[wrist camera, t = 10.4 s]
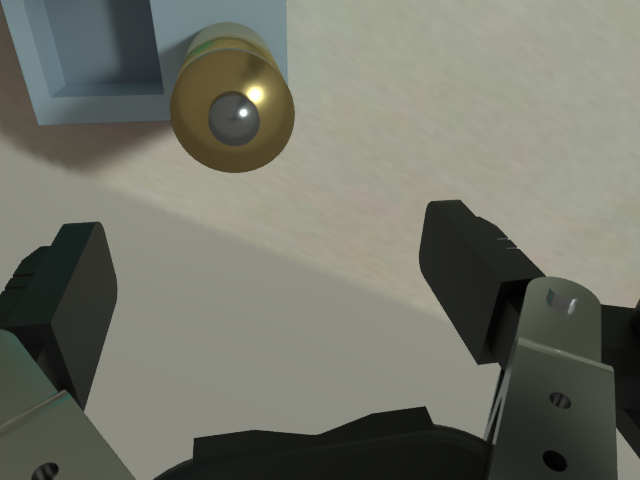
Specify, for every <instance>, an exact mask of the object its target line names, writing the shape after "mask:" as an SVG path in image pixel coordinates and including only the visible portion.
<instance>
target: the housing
mask: <svg viewBox="0 0 640 480" xmlns="http://www.w3.org/2000/svg"><path fill="white" fill-rule="evenodd" d="M1 4H2V7H3V10H4V13H5V17H6V20H7V23H8V27H9V30H10V33H11V36H12V40H13V43H14V46H15V50H16V53H17V56H18V59H19V63H20V66H21V69H22V73H23V76H24V79H25V82H26V86H27V89H28V92H29V96H30V99H31V102H32V105H33V109H34V112H35V115H36V119H37V122H38V125H65V124H92V123H118V122H145V121H171V118H170V101H171V96H172V92H173V89H174V86H175V83H176V81H177V78H178V75H179V72H180V69H181V66H182V63H183V61H184V58H185V55H186V52H187V49H188V47H189V45H190V43H191V41H192V40H193V38H194V37H195V36H196V35H197V34H198V33H199V32H200V31H201V30H203V29H204V28H206V27H208V26H210V25H212V24H215V23H220V22H234V23H239V24H242V25H244V26H247V27H249V28H251V29H252V30H253V31H255V32H256V33H257V34H258V35H260V36H261V37H262V39H263V40H264V41H265V42H266V44H267V45H268V47H269V49H270V51H271V53H272V55H273V57H274V59H275V61H276V63H277V65H278V67H279V69H280V72H281V74H282V76H283V78H284V80H285V82H286V84H287V86H288V71H287V22H286V0H1Z"/></svg>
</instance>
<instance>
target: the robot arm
mask: <svg viewBox="0 0 640 480" xmlns="http://www.w3.org/2000/svg"><path fill="white" fill-rule="evenodd" d="M419 264H420V269H421V272H422V274H423V276H424V278H425V280H426V281H427V283H428V285H429V286H430V288H431V289H432V291H433V293H434V294H435V296H436V298H437V299H438V301H439V302H440V304H441V306H442V307H443V309H444V311H445V312H446V314H447V315H448V317H449V319H450V320H451V322H452V324H453V325H454V327H455V328H456V330H457V332H458V333H459V335H460V337H461V338H462V340H463V341H464V343H465V345H466V346H467V348H468V350H469V351H470V353H471V354H472V356H473V358H474V360H475V361H476V363H477V364H478V365H480V364H489V363H497V362H498V363H499V365H500V366H501V370H500V373H499V376H498V380H497V384H496V388H495V392H494V396H493V400H492V404H491V408H490V413H489V417H488V421H487V425H486V429H485V433H484V437H483V439H481V438H479V437H477V436H475V435H472V434H470V433H468V432H465V431H462V430H459V429H455V428H452V427H447V426H442V425H436V424H433V422H432V420H431V418H430V415H429V413H428V411H427V409H426V407H425V406H424V407H417V408H409V409H402V410H395V411H388V412H380V413H373V414H370V415H367V416H365V417H362V418H360V419H357V420H355V421H352V422H350V423H347V424H345V425H342V426H340V427H337V428H335V429H332V430H330V431H327V432H325V433H322V434H318V435H305V434H295V433H283V432H273V431H261V430H250V431H243V432H235V433H228V434H221V435H213V436H207V437H199V438H194V446H193V458H192V459H189V460H187V461H184V462H182V463H180V464H178V465H176V466H174V467H172V468H170V469H168V470H167V471H165V472H164V473H162V474H161V475H159V476H157V477H156V478H154V479H153V480H618V475H617V445H616V428H617V429H618V430H619V432H620V433H621V434H622V436H623V437H624V438H625V440H626V441H627V442H628V444H629V445H630V446H631V447H632V449H633V450H634V452H635V453H636V454H637V456H638V457H639V458H640V299H639V301H638V303H637V305H636V307H635V308H627V307H618V306H610V305H602V304H600V302H599V300H598V298H597V297H596V296H595V295H594V294H593V293H592V292H591V291H590V290H588V289H587V288H585V287H584V286H582V285H580V284H578V283H575V282H573V281H570V280H567V279H563V278H558V277H546V276H545V275H544V274H543V272H542V271H541V270H540V269H539V268H538V267H537V266H536V265H535V264H534V263H533V262H532V261H531V260H530V259H529V258H528V257H527V256H526V255H525V254H524V253H523V252H522V251H521V250H520V249H517V246H516V245H515V244H514V243H513V242H512V241H511V240H508V237H507V236H506V235H505V234H504V233H503V232H502V231H501V230H500V229H499V228H498V227H497V226H496V225H494V224H492V223H490V222H489V221H487V220H485V219H483V218H481V217H476V216H475V215H474V214H473V213H472V212H471V211H470V210H469V209H468V207H467V206H466V205H465V204H464V203H463V202H462V201H461V200H443V201H431V202H430V203H429V204H428V206H427V208H426V213H425V219H424V225H423V232H422V238H421V244H420V250H419ZM116 301H117V280H116V274H115V271H114V267H113V263H112V259H111V255H110V251H109V247H108V243H107V239H106V235H105V232H104V228H103V226H102V224H101V223H100V222H85V223H69V224H64V225H63V226H62V227H61V229H60V230H59V232H58V234H57V236H56V237H55V239H54V241H53V243H52V245H51V246H42V247H39V248H38V249H37V250H35V251H34V252H33V253H31V254H30V255H29V256H27V257H26V258H25V259H23V260H22V261H21V263H20V265H19V266H18V268H17V269H16V271H15V273H14V274H13V278H11V279H10V280H9V282H8V283H7V285H6V287H5V291H3V292H2V293H1V295H0V480H136V479H135V478H134V476H133V475H132V474H131V473H130V471H129V470H128V469H127V467H126V466H125V465H124V464H123V462H122V461H121V460H120V458H119V457H118V456H117V454H116V453H115V452H114V451H113V449H112V448H111V447H110V445H109V444H108V443H107V442H106V440H105V439H104V438H103V437H102V435H101V434H100V433H99V431H98V430H97V429H96V428H95V426H94V425H93V424H92V422H91V421H90V420H89V418H88V417H87V416H86V415H85V413H84V409H85V406H86V403H87V399H88V396H89V393H90V388H91V385H92V382H93V379H94V376H95V372H96V369H97V366H98V362H99V359H100V355H101V352H102V349H103V345H104V342H105V338H106V335H107V332H108V328H109V325H110V322H111V318H112V314H113V311H114V308H115V305H116Z"/></svg>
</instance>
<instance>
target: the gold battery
mask: <svg viewBox="0 0 640 480" xmlns="http://www.w3.org/2000/svg"><path fill="white" fill-rule="evenodd" d="M170 118H171V123H172V127H173V130H174V132H175V135H176V137H177V139H178V141H179V142H180V144H181V145H182V146H183V148H184V149H185V150H186V151H187V152H188V153H189V154H190V155H191V156H192V157H193V158H194V159H195V160H197V161H198V162H200V163H201V164H203V165H205V166H207V167H209V168H212V169H214V170H218V171H222V172H229V173H241V172H248V171H252V170H255V169H258V168H260V167H262V166H264V165H266V164H268V163H269V162H271V161H272V160H273V159H274V158H276V157H277V156H278V155H279V154H280V152H281V151H282V150H283V149H284V147H285V146H286V144H287V143H288V141H289V138H290V136H291V133H292V130H293V126H294V118H295V111H294V103H293V98H292V96H291V93H290V90H289V88H288V86H287V84H286V82H285V80H284V78H283V76H282V74H281V72H280V69H279V67H278V65H277V63H276V61H275V59H274V57H273V55H272V53H271V51H270V49H269V47H268V45H267V44H266V42H265V41H264V40H263V39H262V37H261V36H260V35H258V34H257V33H256V32H255V31H253V30H252V29H251V28H249V27H247V26H244V25H242V24H239V23H234V22H220V23H215V24H212V25H210V26H208V27H206V28H204V29H203V30H201V31H200V32H199V33H198V34H197V35H196V36H195V37H194V38H193V40H192V41H191V43H190V45H189V47H188V49H187V52H186V55H185V58H184V61H183V63H182V66H181V69H180V72H179V75H178V78H177V81H176V83H175V86H174V89H173V92H172V96H171V101H170Z"/></svg>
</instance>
